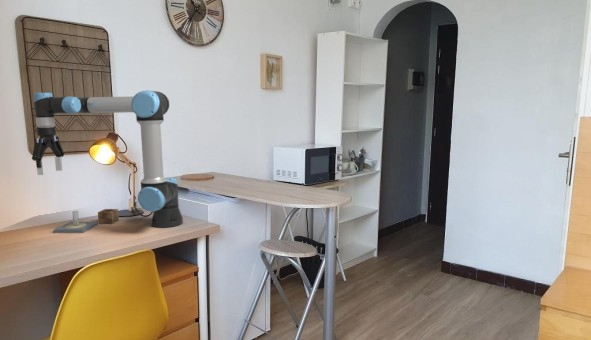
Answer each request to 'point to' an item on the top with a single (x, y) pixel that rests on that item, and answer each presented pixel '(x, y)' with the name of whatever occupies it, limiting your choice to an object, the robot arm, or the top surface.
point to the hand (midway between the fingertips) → (50, 172)
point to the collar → (108, 216)
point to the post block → (75, 225)
